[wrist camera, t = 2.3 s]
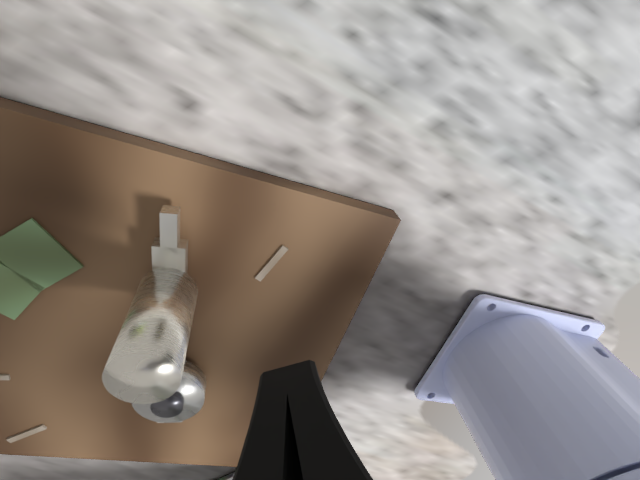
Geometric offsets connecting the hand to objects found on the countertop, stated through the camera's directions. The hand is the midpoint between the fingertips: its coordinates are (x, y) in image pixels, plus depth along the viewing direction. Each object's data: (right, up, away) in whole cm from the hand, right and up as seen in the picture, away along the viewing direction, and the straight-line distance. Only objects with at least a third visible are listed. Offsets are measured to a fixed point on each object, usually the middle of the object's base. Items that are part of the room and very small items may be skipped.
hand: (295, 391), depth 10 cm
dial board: (-7, 0, +9) cm, 11 cm away
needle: (-6, 0, +7) cm, 9 cm away
